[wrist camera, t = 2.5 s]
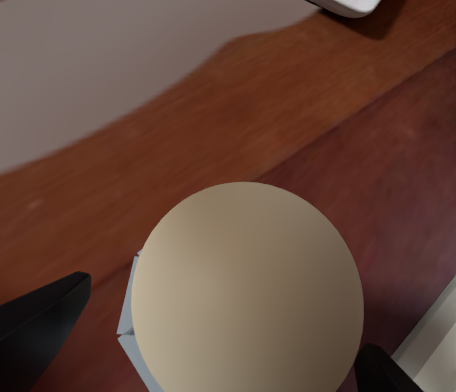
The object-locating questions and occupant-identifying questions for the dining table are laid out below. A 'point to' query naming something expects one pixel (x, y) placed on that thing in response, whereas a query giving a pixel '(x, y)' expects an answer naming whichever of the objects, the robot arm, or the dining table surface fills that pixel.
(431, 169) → the dining table surface
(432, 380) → the sage tray
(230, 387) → the maple dowel
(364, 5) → the salad plate
